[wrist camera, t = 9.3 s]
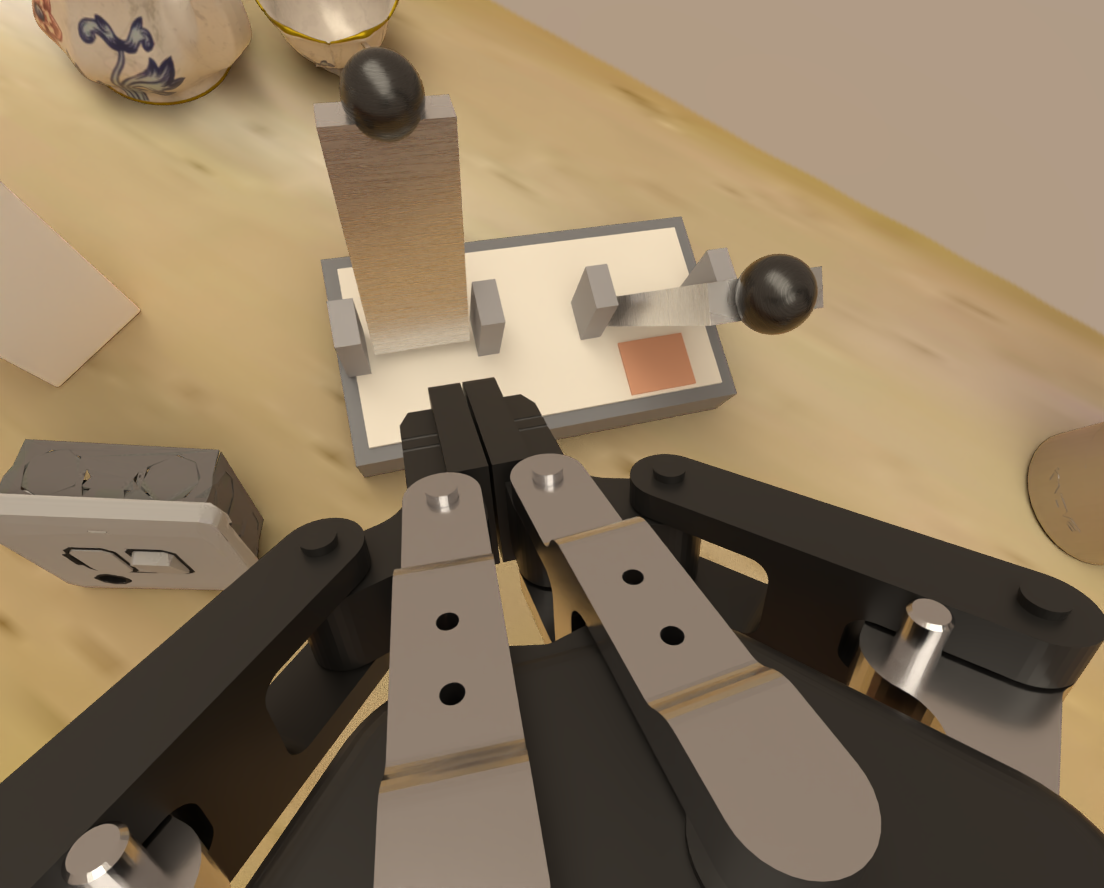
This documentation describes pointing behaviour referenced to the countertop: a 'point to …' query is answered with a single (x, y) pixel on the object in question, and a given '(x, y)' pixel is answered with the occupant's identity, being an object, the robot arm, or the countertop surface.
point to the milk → (51, 297)
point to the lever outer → (398, 200)
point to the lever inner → (733, 299)
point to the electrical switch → (129, 515)
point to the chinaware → (199, 39)
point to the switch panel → (543, 336)
